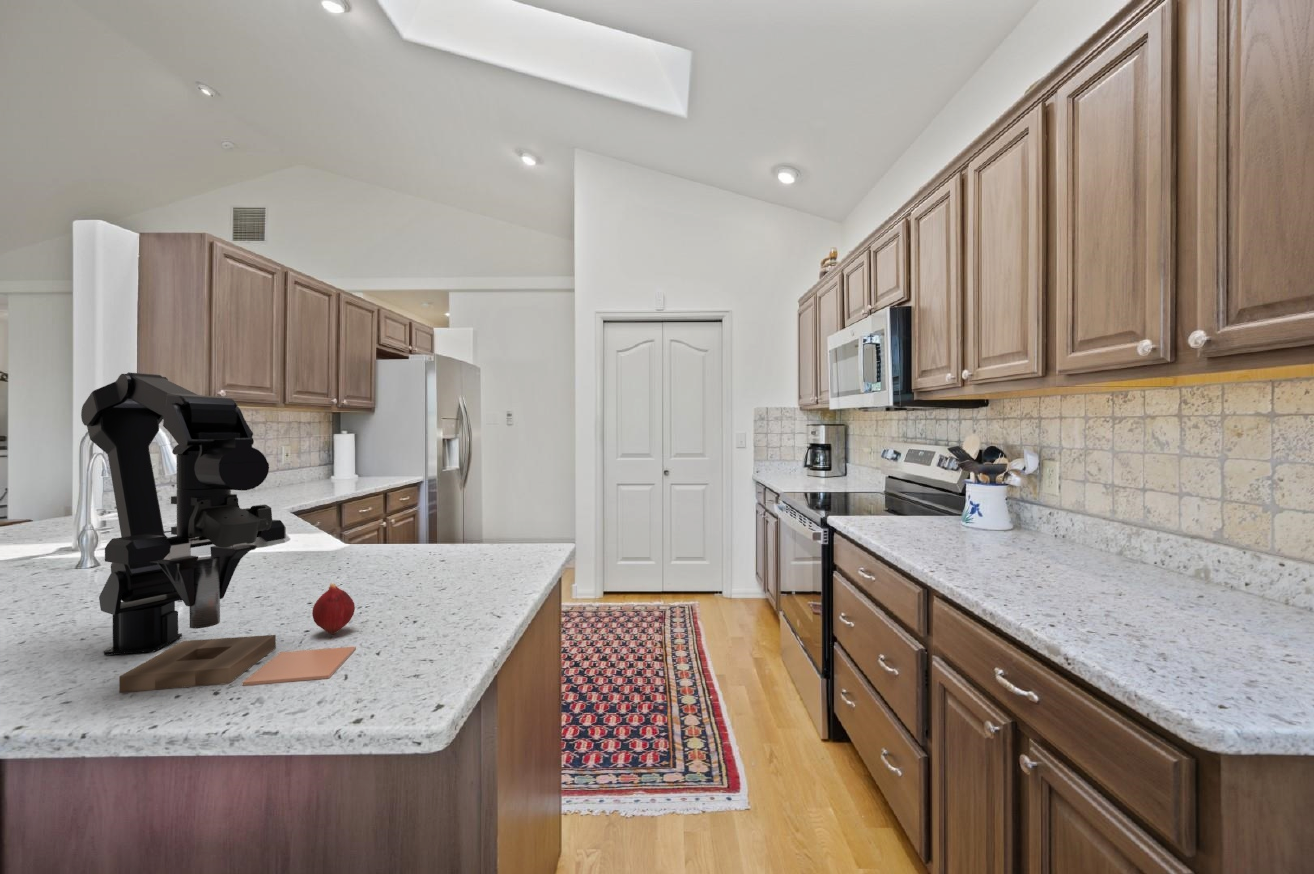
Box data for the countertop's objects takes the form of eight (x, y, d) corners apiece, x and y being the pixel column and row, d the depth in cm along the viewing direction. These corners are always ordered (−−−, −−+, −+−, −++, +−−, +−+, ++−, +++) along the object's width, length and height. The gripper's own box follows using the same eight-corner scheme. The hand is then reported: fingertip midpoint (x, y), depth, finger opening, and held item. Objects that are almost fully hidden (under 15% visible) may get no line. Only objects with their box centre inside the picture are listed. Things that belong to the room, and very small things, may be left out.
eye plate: (119, 692, 67) (119, 676, 67) (183, 654, 79) (183, 640, 79) (229, 683, 70) (229, 667, 70) (275, 648, 81) (275, 634, 81)
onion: (362, 627, 90) (362, 579, 90) (338, 640, 84) (338, 588, 84) (329, 626, 91) (329, 578, 91) (303, 639, 85) (303, 588, 85)
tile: (242, 685, 69) (242, 682, 69) (280, 654, 79) (280, 651, 79) (328, 678, 71) (328, 675, 71) (355, 649, 81) (355, 646, 81)
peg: (198, 629, 72) (198, 561, 72) (184, 626, 73) (183, 560, 73) (225, 622, 75) (225, 557, 75) (211, 619, 76) (210, 555, 76)
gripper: (155, 496, 63) (155, 632, 63) (310, 484, 80) (311, 590, 80) (102, 493, 67) (102, 620, 67) (261, 482, 84) (261, 583, 84)
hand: (204, 602), depth 74 cm, fingers closed on peg, 3 cm apart
